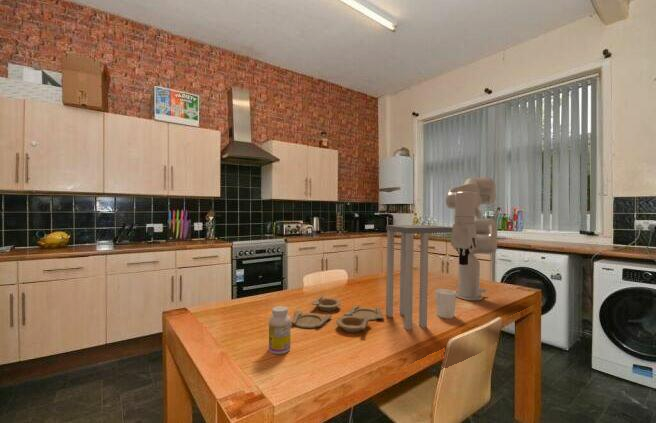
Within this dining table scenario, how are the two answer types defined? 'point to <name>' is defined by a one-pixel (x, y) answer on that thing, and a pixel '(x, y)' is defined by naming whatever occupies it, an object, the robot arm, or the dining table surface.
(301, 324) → the tableware set
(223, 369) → the dining table surface
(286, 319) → the supplement bottle
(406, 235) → the grey tall stool
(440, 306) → the white cup
